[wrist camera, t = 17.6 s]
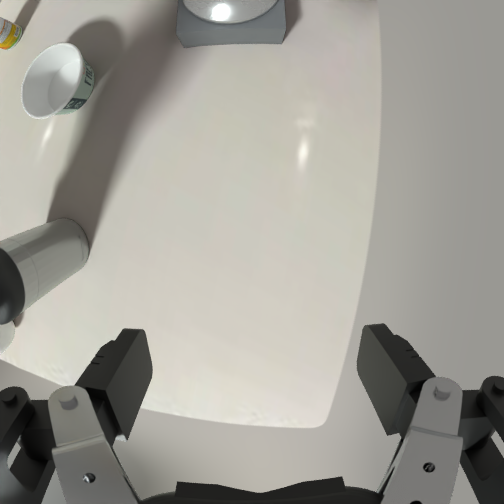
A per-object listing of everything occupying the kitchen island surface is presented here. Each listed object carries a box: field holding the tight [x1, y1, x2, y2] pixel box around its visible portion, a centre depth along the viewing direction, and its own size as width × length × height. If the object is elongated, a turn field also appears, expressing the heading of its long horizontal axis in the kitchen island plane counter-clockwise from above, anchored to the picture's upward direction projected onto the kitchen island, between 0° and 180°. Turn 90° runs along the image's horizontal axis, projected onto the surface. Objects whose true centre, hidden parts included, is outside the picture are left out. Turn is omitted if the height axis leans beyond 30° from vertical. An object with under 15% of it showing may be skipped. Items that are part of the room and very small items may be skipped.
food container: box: [21, 42, 94, 119], centre depth 33 cm, size 12×12×7 cm
